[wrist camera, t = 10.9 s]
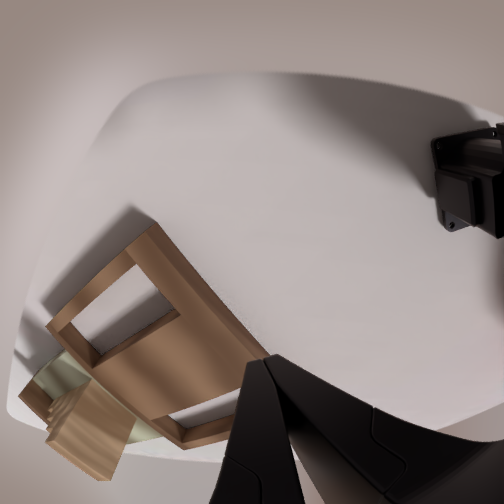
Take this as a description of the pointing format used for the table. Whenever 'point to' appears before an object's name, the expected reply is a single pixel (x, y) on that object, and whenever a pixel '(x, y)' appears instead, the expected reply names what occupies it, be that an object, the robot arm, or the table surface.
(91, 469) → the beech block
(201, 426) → the brown wooden flat frame
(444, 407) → the table surface
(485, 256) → the table surface
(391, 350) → the table surface
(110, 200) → the table surface
